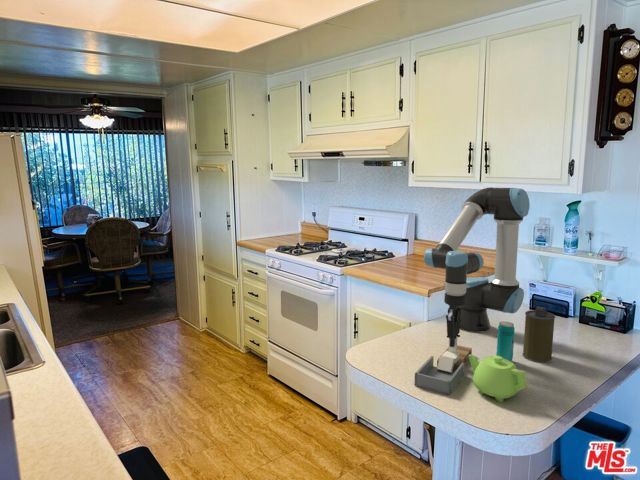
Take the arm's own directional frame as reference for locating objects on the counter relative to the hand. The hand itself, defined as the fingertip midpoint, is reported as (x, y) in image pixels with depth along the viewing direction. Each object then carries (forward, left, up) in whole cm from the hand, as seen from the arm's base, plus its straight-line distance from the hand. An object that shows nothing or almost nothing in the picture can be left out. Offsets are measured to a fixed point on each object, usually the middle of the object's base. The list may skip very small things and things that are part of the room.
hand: (452, 353), depth 167 cm
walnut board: (-3, 0, -4) cm, 5 cm away
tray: (+15, 0, -4) cm, 16 cm away
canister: (-24, +26, -4) cm, 36 cm away
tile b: (+7, 0, -2) cm, 7 cm away
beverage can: (-13, +16, -4) cm, 21 cm away
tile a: (+3, 0, -1) cm, 3 cm away
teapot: (+14, +19, -4) cm, 24 cm away
